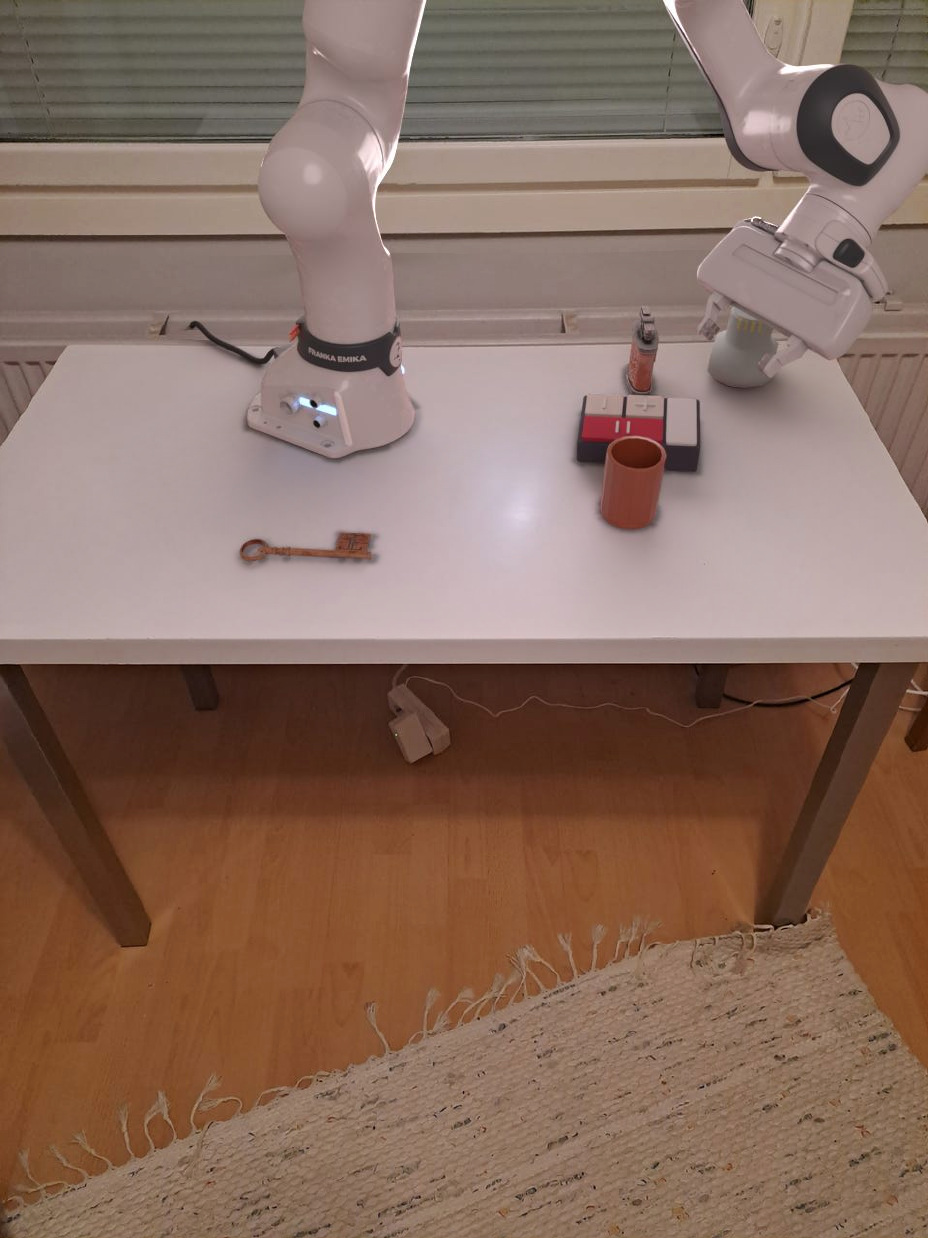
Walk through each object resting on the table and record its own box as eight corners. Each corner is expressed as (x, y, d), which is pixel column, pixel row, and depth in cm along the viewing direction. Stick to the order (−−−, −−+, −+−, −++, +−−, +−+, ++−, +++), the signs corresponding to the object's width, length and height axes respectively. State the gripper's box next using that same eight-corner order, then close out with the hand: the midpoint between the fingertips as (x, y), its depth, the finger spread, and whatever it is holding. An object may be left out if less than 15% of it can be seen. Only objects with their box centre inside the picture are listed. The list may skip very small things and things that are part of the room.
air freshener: (762, 402, 124) (780, 335, 117) (701, 391, 126) (715, 324, 119) (773, 362, 131) (791, 296, 124) (716, 352, 133) (729, 286, 126)
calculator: (584, 389, 120) (700, 393, 118) (583, 417, 124) (696, 421, 121) (577, 437, 113) (701, 443, 111) (576, 466, 116) (697, 472, 114)
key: (375, 538, 107) (249, 532, 107) (375, 532, 106) (248, 525, 107) (368, 569, 102) (236, 562, 103) (367, 563, 102) (235, 556, 102)
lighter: (654, 398, 125) (665, 331, 118) (629, 398, 125) (638, 331, 118) (646, 366, 131) (656, 300, 124) (623, 366, 131) (631, 301, 124)
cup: (593, 522, 108) (600, 464, 102) (607, 489, 112) (615, 431, 106) (649, 534, 106) (659, 476, 100) (660, 500, 110) (671, 442, 104)
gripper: (736, 195, 101) (657, 302, 105) (886, 265, 89) (790, 383, 93) (757, 226, 106) (680, 327, 110) (901, 296, 94) (810, 407, 98)
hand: (732, 354), depth 101 cm, fingers open, 8 cm apart
